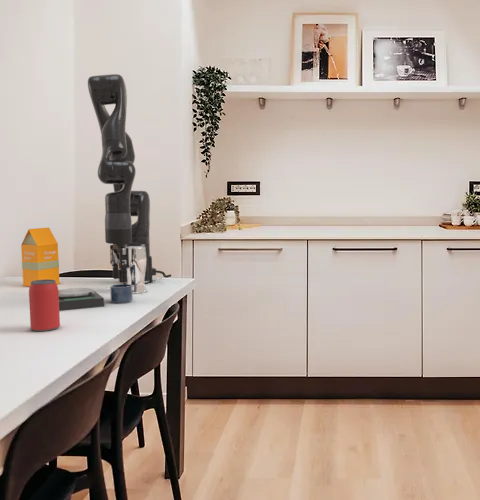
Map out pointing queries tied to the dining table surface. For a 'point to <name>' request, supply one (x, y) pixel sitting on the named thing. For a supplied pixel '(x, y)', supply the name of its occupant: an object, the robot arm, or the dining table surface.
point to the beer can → (44, 305)
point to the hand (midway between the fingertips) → (119, 280)
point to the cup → (121, 293)
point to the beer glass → (137, 268)
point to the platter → (75, 292)
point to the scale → (81, 302)
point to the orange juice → (39, 256)
